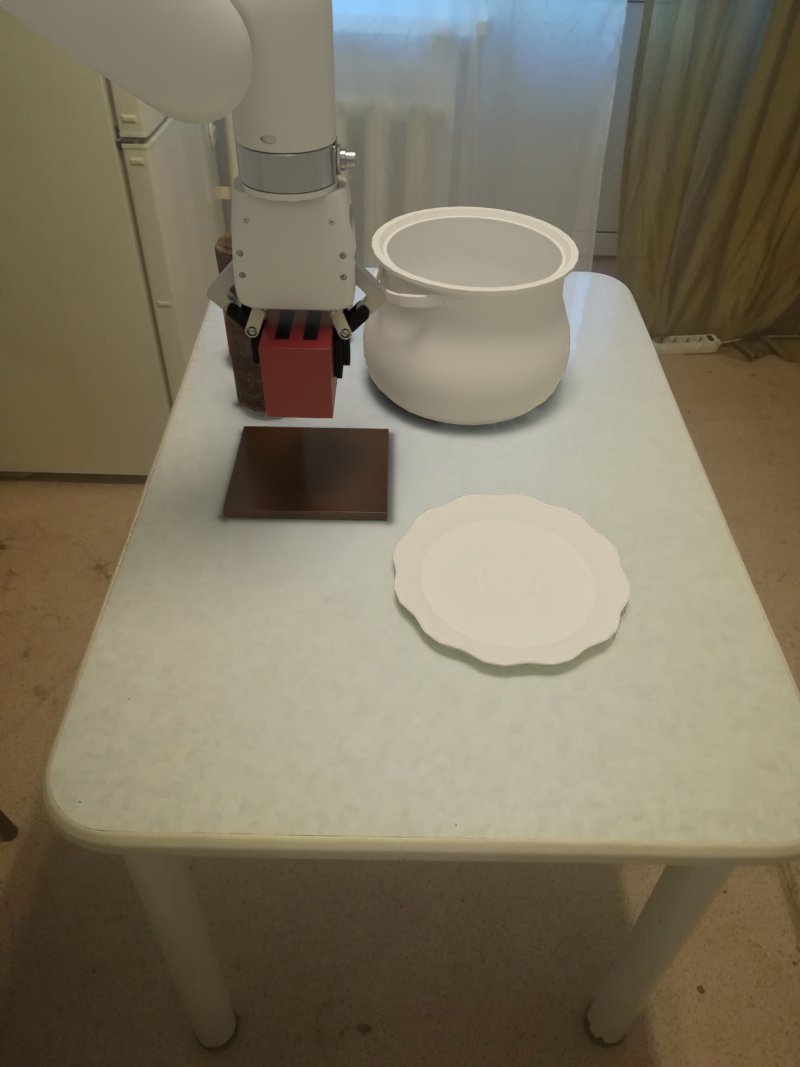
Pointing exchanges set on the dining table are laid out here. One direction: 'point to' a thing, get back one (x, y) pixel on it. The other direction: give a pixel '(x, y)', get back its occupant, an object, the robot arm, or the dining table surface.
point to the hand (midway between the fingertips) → (303, 368)
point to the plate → (510, 579)
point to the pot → (469, 313)
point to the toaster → (298, 364)
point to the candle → (241, 343)
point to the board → (309, 474)
